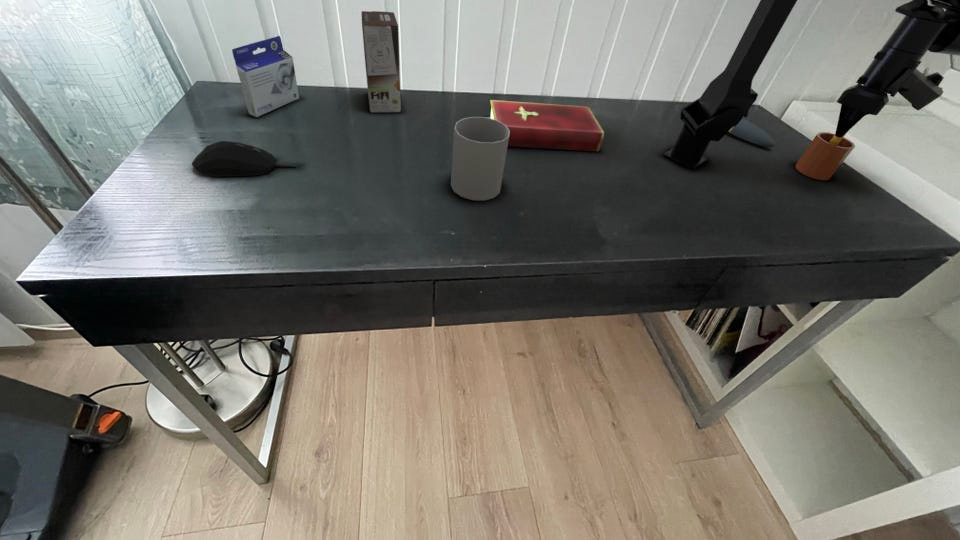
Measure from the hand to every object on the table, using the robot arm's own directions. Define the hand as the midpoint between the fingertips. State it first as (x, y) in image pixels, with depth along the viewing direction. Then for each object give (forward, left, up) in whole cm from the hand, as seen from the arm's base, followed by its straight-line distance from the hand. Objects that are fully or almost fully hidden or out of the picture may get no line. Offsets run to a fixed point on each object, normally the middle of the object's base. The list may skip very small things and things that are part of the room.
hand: (839, 135), depth 81 cm
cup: (-62, +36, -8) cm, 72 cm away
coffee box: (-57, +70, -8) cm, 91 cm away
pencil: (0, 0, -2) cm, 2 cm away
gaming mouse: (-89, +61, -8) cm, 108 cm away
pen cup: (0, 0, -8) cm, 8 cm away
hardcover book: (-38, +42, -8) cm, 57 cm away
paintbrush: (+2, +19, -8) cm, 21 cm away
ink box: (-76, +79, -8) cm, 110 cm away
